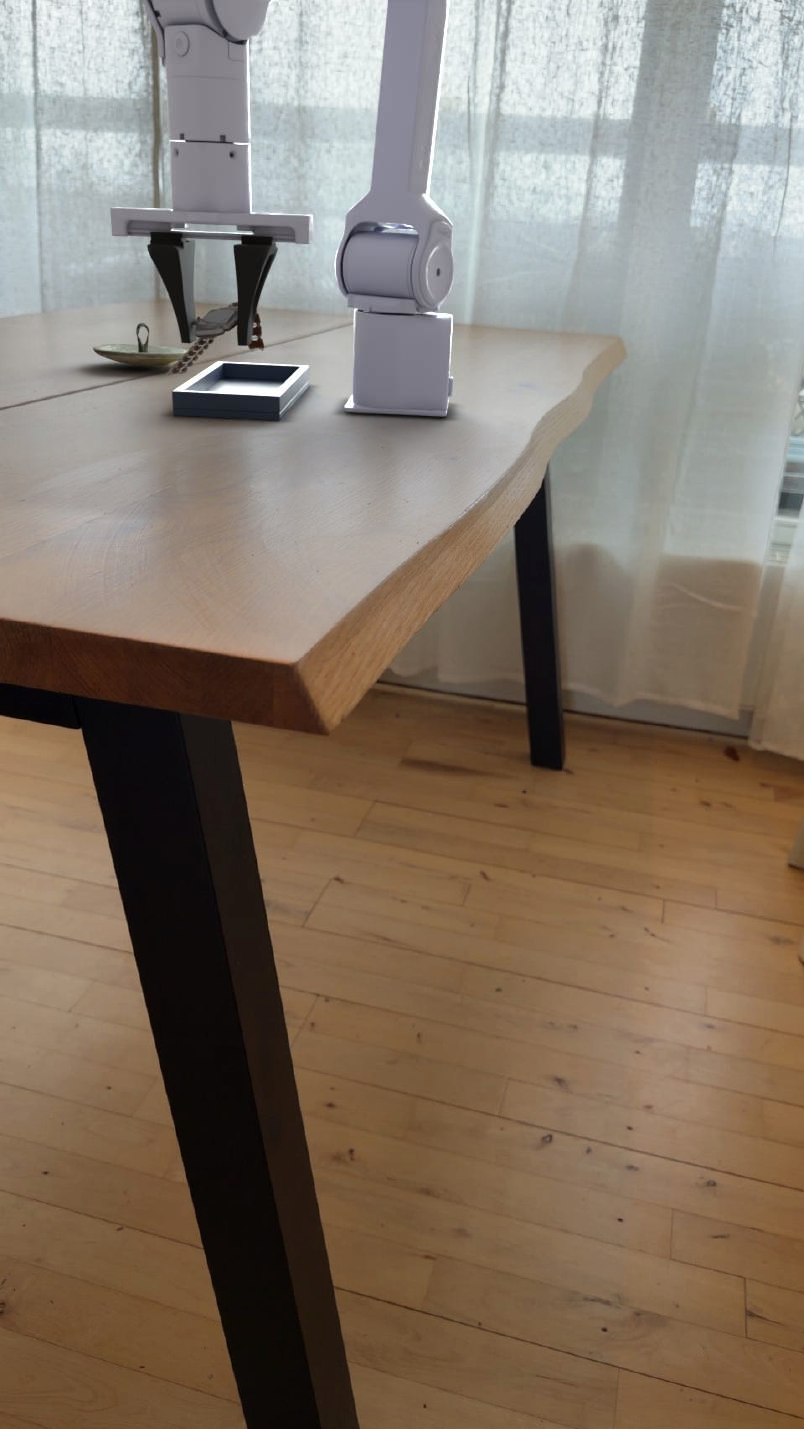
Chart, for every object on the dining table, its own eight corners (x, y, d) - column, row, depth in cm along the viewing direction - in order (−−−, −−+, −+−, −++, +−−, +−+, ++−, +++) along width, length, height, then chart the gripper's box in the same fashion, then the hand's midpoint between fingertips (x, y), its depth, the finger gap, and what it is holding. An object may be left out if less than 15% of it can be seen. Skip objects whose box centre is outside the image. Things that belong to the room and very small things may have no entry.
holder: (218, 382, 120) (217, 361, 119) (309, 386, 119) (309, 365, 118) (172, 415, 102) (171, 391, 101) (279, 420, 101) (279, 396, 101)
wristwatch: (279, 346, 93) (263, 285, 90) (212, 428, 83) (191, 362, 80) (239, 349, 95) (222, 289, 91) (168, 430, 84) (146, 365, 81)
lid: (182, 393, 124) (198, 348, 123) (92, 357, 120) (107, 311, 119) (175, 380, 133) (190, 339, 132) (91, 346, 130) (105, 303, 128)
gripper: (92, 137, 78) (106, 345, 84) (303, 146, 77) (303, 354, 83) (121, 141, 84) (133, 334, 90) (316, 149, 84) (316, 342, 89)
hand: (216, 343), depth 87 cm, fingers closed on wristwatch, 4 cm apart
